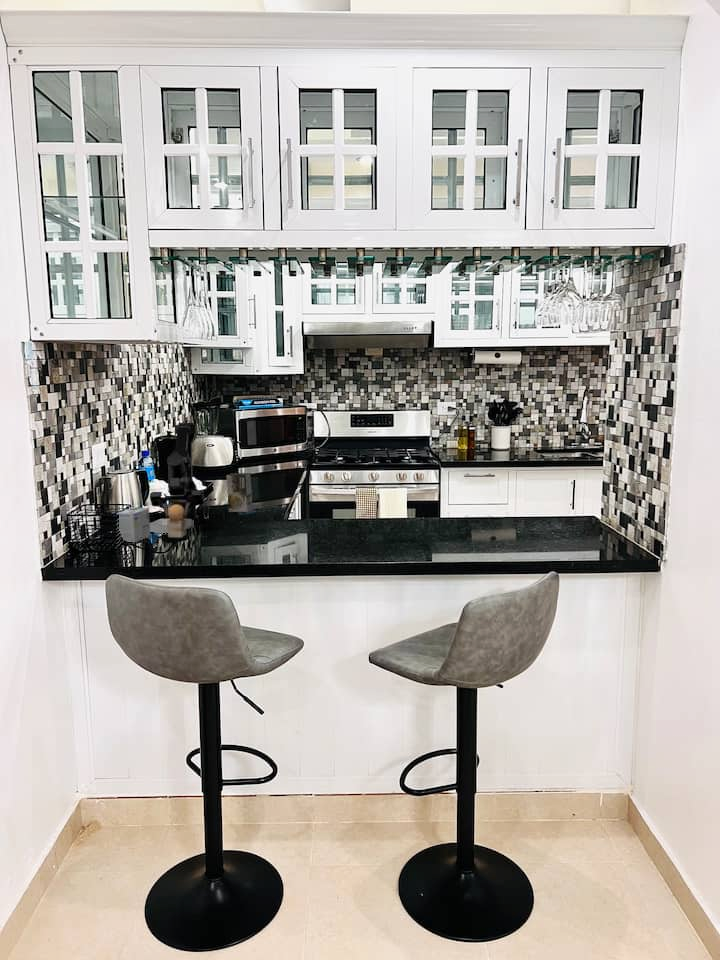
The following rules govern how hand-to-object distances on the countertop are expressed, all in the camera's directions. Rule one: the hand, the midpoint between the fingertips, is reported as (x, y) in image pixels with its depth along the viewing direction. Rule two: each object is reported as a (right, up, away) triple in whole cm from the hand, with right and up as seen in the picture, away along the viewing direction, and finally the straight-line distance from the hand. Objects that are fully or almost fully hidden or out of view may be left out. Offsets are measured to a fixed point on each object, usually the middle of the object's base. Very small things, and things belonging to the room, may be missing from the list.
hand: (175, 517), depth 255 cm
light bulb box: (-14, -8, -3) cm, 16 cm away
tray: (-6, -5, +13) cm, 16 cm away
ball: (0, +2, +1) cm, 2 cm away
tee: (0, -7, +2) cm, 7 cm away
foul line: (-7, -6, +7) cm, 11 cm away
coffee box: (+15, 0, +51) cm, 54 cm away
